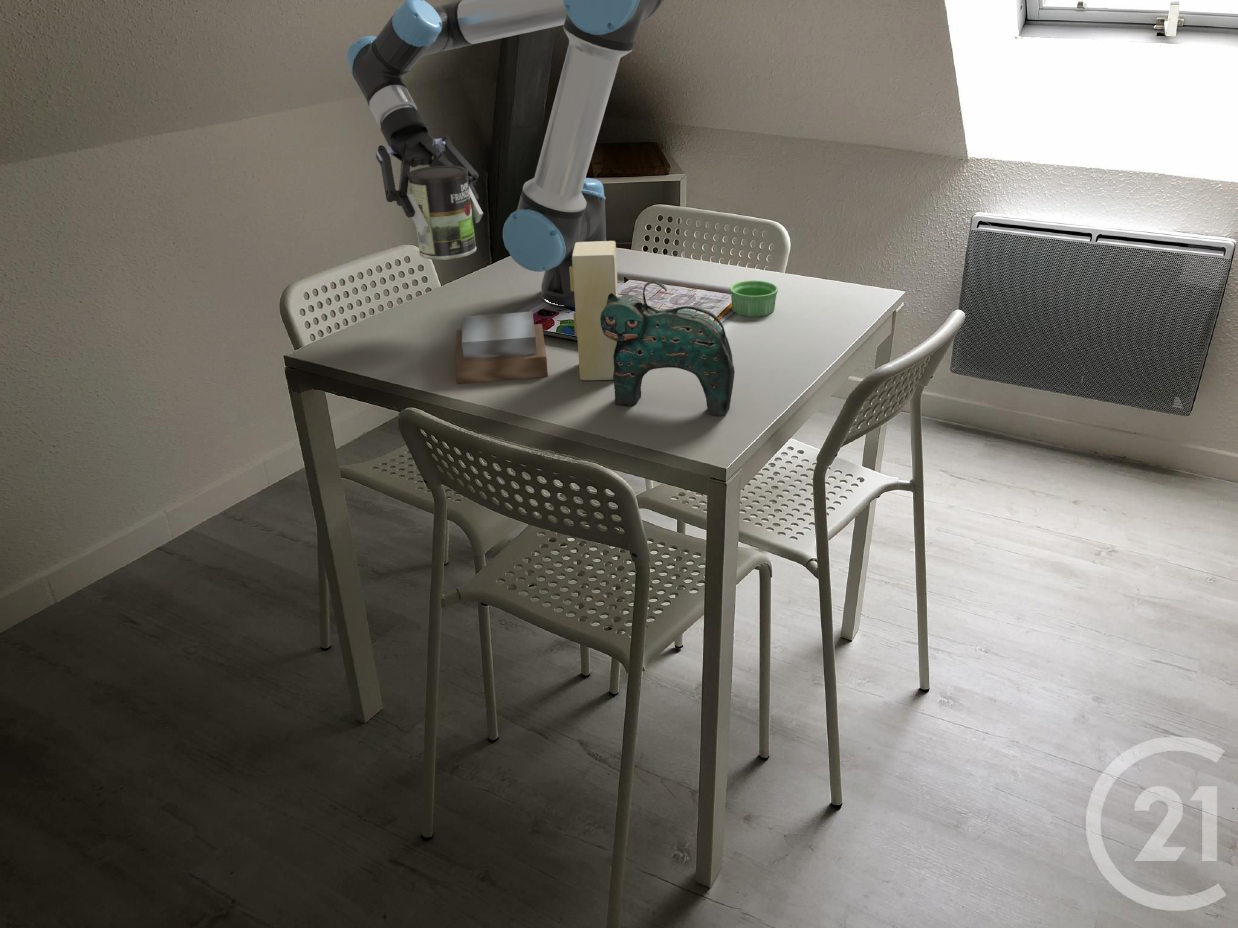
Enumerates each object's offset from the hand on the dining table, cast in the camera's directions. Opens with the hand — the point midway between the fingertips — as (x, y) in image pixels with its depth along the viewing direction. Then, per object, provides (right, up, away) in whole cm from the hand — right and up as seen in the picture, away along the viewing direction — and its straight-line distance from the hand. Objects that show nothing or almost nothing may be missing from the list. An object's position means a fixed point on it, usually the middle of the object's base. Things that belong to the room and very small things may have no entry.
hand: (452, 224), depth 169 cm
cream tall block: (+26, -26, -6) cm, 37 cm away
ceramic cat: (+37, -33, -19) cm, 53 cm away
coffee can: (-2, -4, +5) cm, 6 cm away
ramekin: (+55, -13, +16) cm, 58 cm away
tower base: (+9, -24, -2) cm, 26 cm away
